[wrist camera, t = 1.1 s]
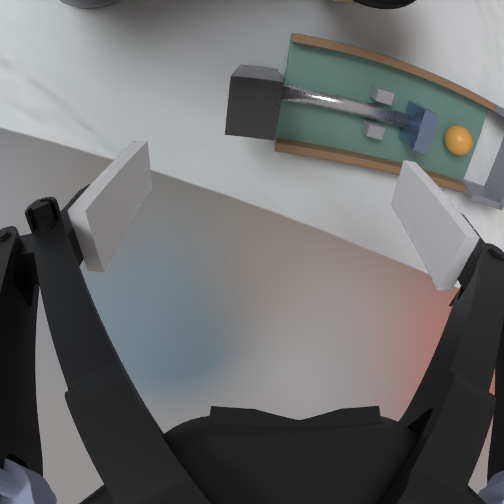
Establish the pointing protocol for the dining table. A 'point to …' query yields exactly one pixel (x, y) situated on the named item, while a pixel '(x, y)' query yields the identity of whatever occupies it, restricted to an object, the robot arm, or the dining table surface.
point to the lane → (380, 93)
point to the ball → (458, 140)
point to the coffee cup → (380, 3)
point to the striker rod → (273, 91)
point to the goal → (490, 181)
